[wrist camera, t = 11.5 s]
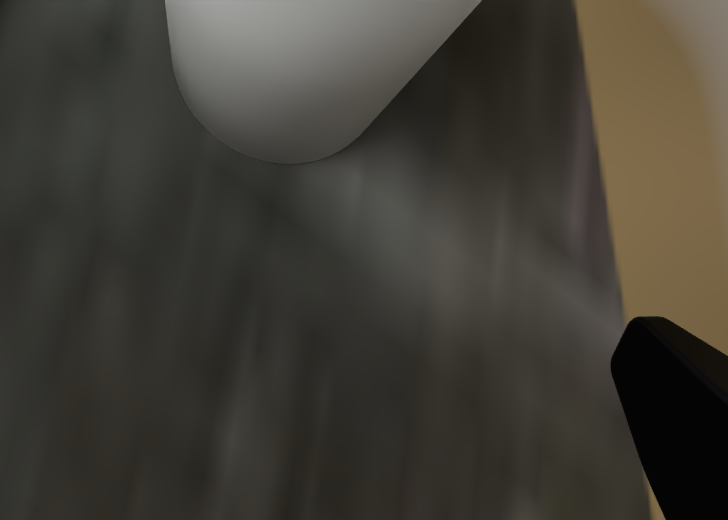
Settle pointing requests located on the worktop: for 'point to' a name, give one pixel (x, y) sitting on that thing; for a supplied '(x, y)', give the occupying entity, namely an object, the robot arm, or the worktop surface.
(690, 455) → the robot arm
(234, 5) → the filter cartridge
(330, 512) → the worktop surface
